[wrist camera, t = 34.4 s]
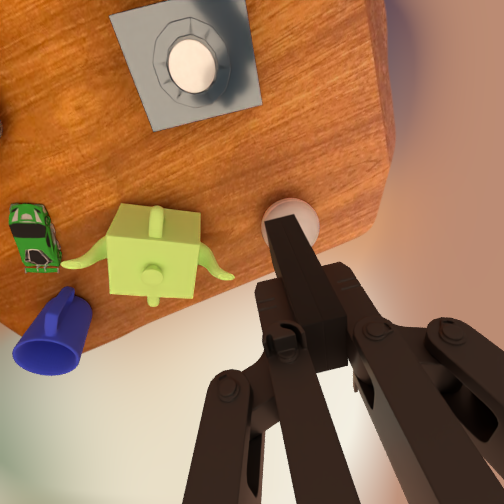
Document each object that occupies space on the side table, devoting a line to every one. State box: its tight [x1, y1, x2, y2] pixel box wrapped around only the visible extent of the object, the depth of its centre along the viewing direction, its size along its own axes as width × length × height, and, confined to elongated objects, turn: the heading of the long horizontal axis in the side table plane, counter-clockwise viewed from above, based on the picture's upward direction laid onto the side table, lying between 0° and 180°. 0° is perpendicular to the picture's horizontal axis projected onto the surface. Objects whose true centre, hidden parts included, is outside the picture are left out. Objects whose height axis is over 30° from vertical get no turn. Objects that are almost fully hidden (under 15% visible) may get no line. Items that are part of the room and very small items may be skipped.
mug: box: [12, 286, 92, 376], centre depth 44 cm, size 8×12×10 cm
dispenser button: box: [168, 39, 215, 93], centre depth 27 cm, size 4×4×2 cm
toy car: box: [9, 203, 62, 273], centre depth 40 cm, size 10×5×2 cm, turn 174°
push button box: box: [109, 0, 262, 132], centre depth 30 cm, size 12×10×6 cm
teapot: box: [61, 203, 235, 307], centre depth 39 cm, size 15×13×11 cm
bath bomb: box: [261, 198, 320, 247], centre depth 41 cm, size 8×8×8 cm
